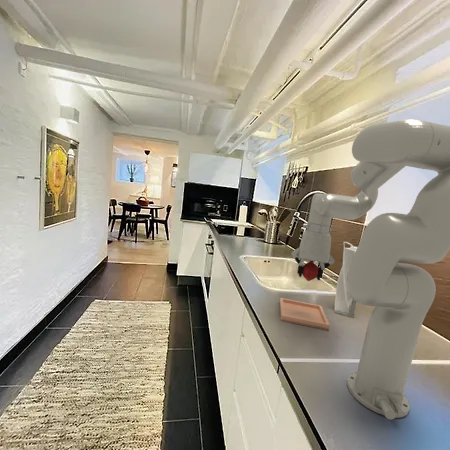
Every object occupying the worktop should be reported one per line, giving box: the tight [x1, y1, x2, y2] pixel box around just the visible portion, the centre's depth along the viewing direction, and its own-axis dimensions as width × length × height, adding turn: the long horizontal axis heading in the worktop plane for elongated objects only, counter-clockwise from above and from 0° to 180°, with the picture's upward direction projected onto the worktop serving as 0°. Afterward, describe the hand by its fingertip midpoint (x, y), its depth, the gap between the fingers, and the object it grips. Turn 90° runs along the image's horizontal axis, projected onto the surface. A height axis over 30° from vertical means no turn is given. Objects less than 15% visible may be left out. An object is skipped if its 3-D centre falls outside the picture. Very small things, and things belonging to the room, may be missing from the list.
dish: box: [279, 297, 331, 332], centre depth 99 cm, size 16×16×2 cm
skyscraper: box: [333, 241, 358, 319], centre depth 107 cm, size 8×8×28 cm
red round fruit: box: [302, 260, 319, 282], centre depth 97 cm, size 6×6×8 cm
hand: (309, 277), depth 97 cm, fingers closed on red round fruit, 5 cm apart
